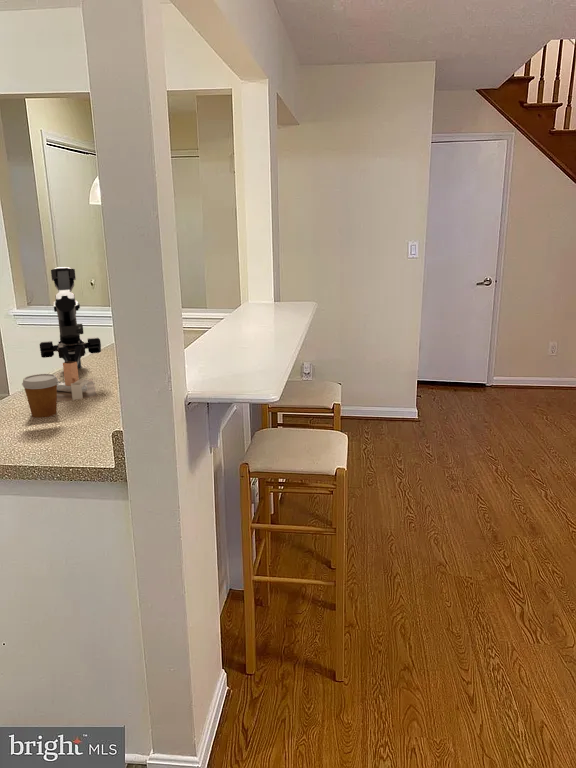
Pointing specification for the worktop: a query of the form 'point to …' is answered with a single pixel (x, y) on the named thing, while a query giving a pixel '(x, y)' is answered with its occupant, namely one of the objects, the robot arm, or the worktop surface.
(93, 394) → the walnut board
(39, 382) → the disposable coffee cup
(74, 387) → the block
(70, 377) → the lever link
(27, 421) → the worktop surface
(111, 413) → the worktop surface
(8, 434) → the worktop surface
